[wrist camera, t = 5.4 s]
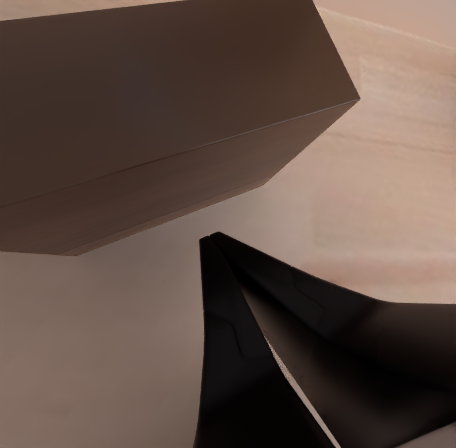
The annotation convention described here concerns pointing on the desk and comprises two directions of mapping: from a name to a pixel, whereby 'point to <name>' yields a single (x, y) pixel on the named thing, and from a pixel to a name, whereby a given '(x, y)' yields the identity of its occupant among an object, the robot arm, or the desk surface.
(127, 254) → the desk surface
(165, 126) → the walnut bookend
